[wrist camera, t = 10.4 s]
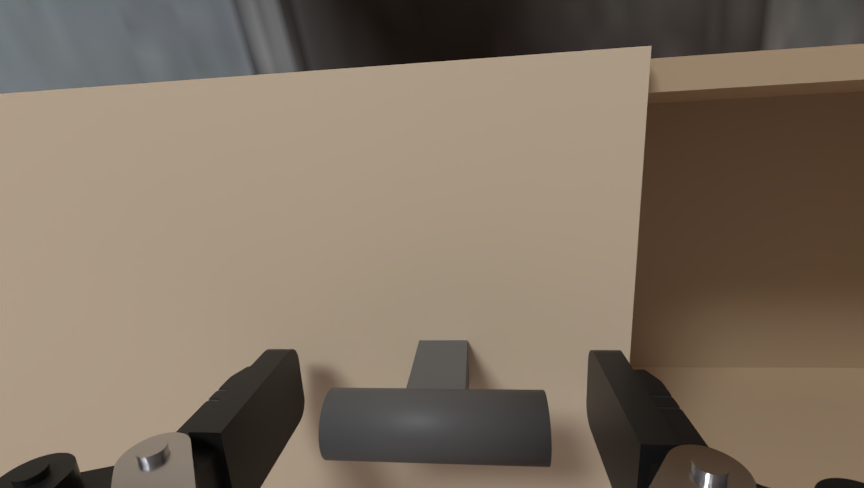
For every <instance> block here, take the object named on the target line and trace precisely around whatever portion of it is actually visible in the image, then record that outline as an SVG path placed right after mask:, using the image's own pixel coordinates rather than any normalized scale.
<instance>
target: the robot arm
mask: <svg viewBox="0 0 864 488" xmlns="http://www.w3.org/2000/svg"><path fill="white" fill-rule="evenodd" d="M304 405H305V398H304V391H303V384H302V378H301V371H300V364H299V358H298V354H297V352H296V350H294V349H267V350H266V351H264V353H263V354H262V355H261V356H260V357H259V358H258V359H257V360H256V361H255V362H254V363H253V364H252V365H251V366H250V367H246V368H244V369H243V370H241V371H239V372H238V373H236V374H234V375H233V376H231V377H230V378H229V379H228V380H227V381H226V382H225V383H224V384H223V385H222V386H221V387H220V388H219V390H218V391H216V392H215V393H214V394H213V395H212V396H211V397H210V398H209V401H206V402H205V403H204V404H203V405H202V406H201V407H200V408H199V409H198V410H197V411H196V412H195V413H194V414H193V415H192V416H191V417H190V418H189V419H188V420H187V421H186V422H185V423H184V424H183V425H182V426H181V427H180V428H179V429H178V430H177V431H176V432H170V433H163V434H159V435H156V436H153V437H150V438H148V439H145V440H143V441H141V442H139V443H138V444H136V445H134V446H133V447H131V448H130V449H128V450H127V451H126V452H125V453H124V454H123V455H122V456H121V457H120V458H119V459H118V460H117V462H116V464H115V465H114V466H109V467H104V468H99V469H94V470H89V471H84V472H80V470H79V467H78V464H77V460H76V458H75V456H74V455H72V454H70V453H54V454H49V455H45V456H41V457H38V458H35V459H33V460H30V461H28V462H26V463H24V464H21V465H19V466H18V467H16V468H14V469H12V470H11V471H9V472H7V473H6V474H4V475H3V476H2V477H0V488H261V486H262V484H263V483H264V481H265V479H266V478H267V476H268V474H269V473H270V471H271V469H272V468H273V466H274V464H275V463H276V461H277V459H278V458H279V456H280V454H281V453H282V451H283V449H284V448H285V446H286V444H287V443H288V441H289V439H290V438H291V436H292V434H293V433H294V431H295V429H296V428H297V426H298V424H299V423H300V421H301V419H302V416H303V412H304ZM586 408H587V418H588V423H589V427H590V430H591V433H592V435H593V438H594V441H595V443H596V446H597V449H598V451H599V454H600V457H601V460H602V462H603V465H604V468H605V470H606V473H607V476H608V478H609V481H610V484H611V487H612V488H769V487H766V486H762V485H760V484H757V483H756V482H755V480H754V478H753V476H752V475H751V473H750V472H749V471H748V470H747V469H746V468H745V467H744V466H743V465H742V464H741V463H740V462H738V461H737V460H735V459H734V458H732V457H731V456H729V455H727V454H725V453H723V452H721V451H718V450H716V449H713V448H710V447H708V445H707V444H706V443H705V441H704V440H703V438H702V437H701V436H700V434H699V433H698V431H697V430H696V429H695V427H694V426H693V424H692V423H691V422H690V420H689V419H688V417H687V416H686V415H685V413H684V412H683V411H682V409H680V406H679V405H678V404H677V402H676V401H675V399H674V398H672V397H671V394H670V392H669V391H668V390H667V388H666V387H665V385H664V384H663V383H662V381H660V380H659V379H657V378H656V377H655V376H653V375H652V374H650V373H649V372H647V371H646V370H633V368H632V367H631V365H630V363H629V362H628V360H627V359H626V357H625V356H624V354H623V352H622V351H621V350H590V352H589V356H588V373H587V397H586ZM814 488H864V483H862V482H859V481H855V480H851V479H844V478H827V479H823V480H821V481H819V482H818V483H817V484H816V485H815V487H814Z"/></svg>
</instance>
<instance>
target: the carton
mask: <svg viewBox="0 0 864 488" xmlns="http://www.w3.org/2000/svg"><path fill="white" fill-rule="evenodd" d="M630 365H631V367H632V368H633V370H646V371H647V372H649V373H650V374H652V375H653V376H655V377H656V378H657V379H659V380H660V381H662V383H663V384H664V385H665V387H666V388H667V390H668V391H669V392H670V394H671V397H672V398H674V399H675V401H676V402H677V404H678V405H679V406H680V409H682V411H683V412H684V413H685V415H686V416H687V417H688V419H689V420H690V422H691V423H692V424H693V426H694V427H695V429H696V430H697V431H698V433H699V434H700V436H701V437H702V438H703V440H704V441H705V443H706V444H707V445H708V447H710V448H713V449H716V450H718V451H721V452H723V453H725V454H727V455H729V456H731V457H732V458H734V459H735V460H737V461H738V462H740V463H741V464H742V465H743V466H744V467H745V468H746V469H747V470H748V471H749V472H750V473H751V475H752V476H753V478H754V480H755V482H756V483H757V484H760V485H762V486H766V487H769V488H814V487H815V485H816V484H817V483H818V482H819V481H821V480H823V479H827V478H844V479H851V480H855V481H859V482H862V483H864V44H852V45H838V46H824V47H810V48H795V49H781V50H767V51H753V52H739V53H725V54H711V55H696V56H682V57H668V58H654V59H650V74H649V88H648V103H647V117H646V131H645V146H644V160H643V175H642V189H641V204H640V218H639V233H638V247H637V262H636V276H635V291H634V305H633V320H632V334H631V348H630Z"/></svg>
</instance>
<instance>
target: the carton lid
mask: <svg viewBox="0 0 864 488" xmlns="http://www.w3.org/2000/svg"><path fill="white" fill-rule="evenodd" d="M650 59H651V46H642V47H628V48H615V49H601V50H588V51H574V52H561V53H547V54H534V55H520V56H506V57H493V58H479V59H466V60H452V61H439V62H425V63H412V64H398V65H385V66H371V67H358V68H344V69H330V70H317V71H303V72H290V73H276V74H263V75H249V76H236V77H222V78H209V79H195V80H182V81H168V82H154V83H141V84H127V85H114V86H100V87H87V88H73V89H60V90H46V91H33V92H19V93H6V94H0V477H2V476H3V475H4V474H6V473H7V472H9V471H11V470H12V469H14V468H16V467H18V466H19V465H21V464H24V463H26V462H28V461H30V460H33V459H35V458H38V457H41V456H45V455H49V454H54V453H70V454H72V455H74V456H75V458H76V460H77V464H78V467H79V470H80V472H84V471H89V470H94V469H99V468H104V467H109V466H114V465H115V464H116V462H117V460H118V459H119V458H120V457H121V456H122V455H123V454H124V453H125V452H126V451H127V450H128V449H130V448H131V447H133V446H134V445H136V444H138V443H139V442H141V441H143V440H145V439H148V438H150V437H153V436H156V435H159V434H163V433H170V432H176V431H177V430H178V429H179V428H180V427H181V426H182V425H183V424H184V423H185V422H186V421H187V420H188V419H189V418H190V417H191V416H192V415H193V414H194V413H195V412H196V411H197V410H198V409H199V408H200V407H201V406H202V405H203V404H204V403H205V402H206V401H209V398H210V397H211V396H212V395H213V394H214V393H215V392H216V391H218V390H219V388H220V387H221V386H222V385H223V384H224V383H225V382H226V381H227V380H228V379H229V378H230V377H231V376H233V375H234V374H236V373H238V372H239V371H241V370H243V369H244V368H246V367H250V366H251V365H252V364H253V363H254V362H255V361H256V360H257V359H258V358H259V357H260V356H261V355H262V354H263V353H264V351H266V350H267V349H294V350H296V352H297V354H298V358H299V364H300V371H301V378H302V384H303V391H304V398H305V405H304V412H303V416H302V419H301V421H300V423H299V424H298V426H297V428H296V429H295V431H294V433H293V434H292V436H291V438H290V439H289V441H288V443H287V444H286V446H285V448H284V449H283V451H282V453H281V454H280V456H279V458H278V459H277V461H276V463H275V464H274V466H273V468H272V469H271V471H270V473H269V474H268V476H267V478H266V479H265V481H264V483H263V484H262V486H261V488H612V487H611V484H610V481H609V478H608V476H607V473H606V470H605V468H604V465H603V462H602V460H601V457H600V454H599V451H598V449H597V446H596V443H595V441H594V438H593V435H592V433H591V430H590V427H589V423H588V418H587V408H586V397H587V373H588V356H589V352H590V350H621V351H622V352H623V354H624V356H625V357H626V359H627V360H628V362H629V363H630V348H631V334H632V320H633V305H634V291H635V276H636V262H637V247H638V233H639V218H640V204H641V189H642V175H643V160H644V146H645V131H646V117H647V103H648V88H649V74H650Z"/></svg>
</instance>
